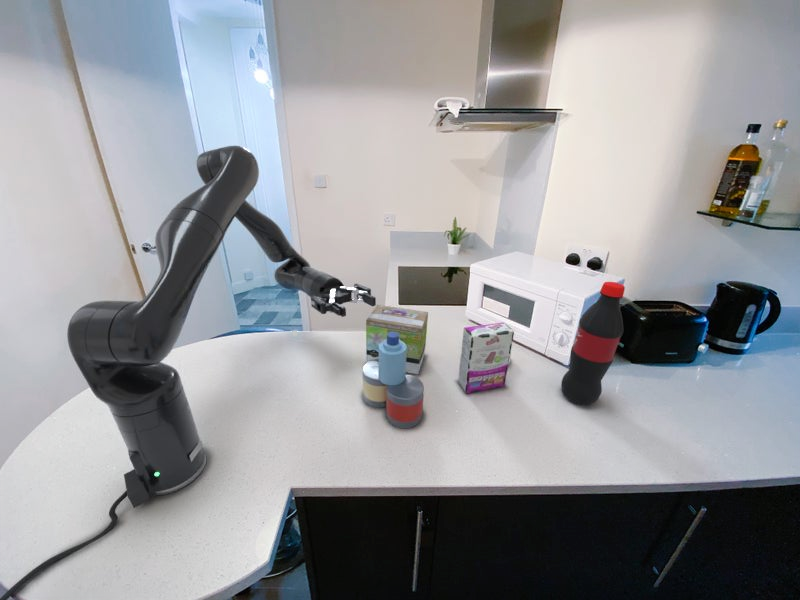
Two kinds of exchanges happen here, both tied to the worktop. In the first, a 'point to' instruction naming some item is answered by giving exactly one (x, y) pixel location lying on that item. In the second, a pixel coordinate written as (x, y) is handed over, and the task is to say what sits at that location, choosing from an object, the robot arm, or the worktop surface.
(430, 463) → the worktop surface
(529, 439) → the worktop surface
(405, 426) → the can front
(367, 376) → the can back
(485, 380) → the candy bar box
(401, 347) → the plastic bottle
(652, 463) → the worktop surface
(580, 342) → the cola bottle
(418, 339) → the tea box
